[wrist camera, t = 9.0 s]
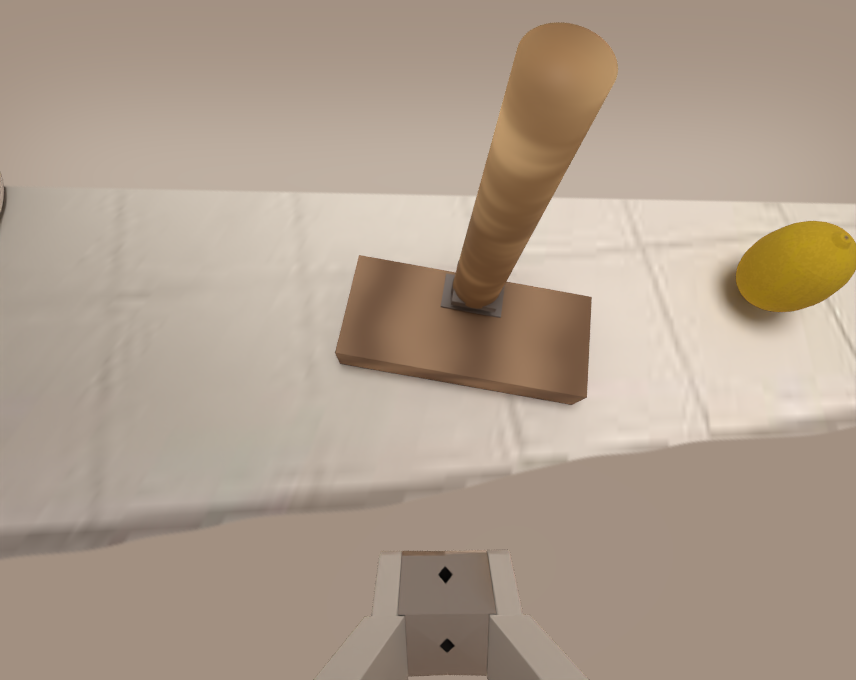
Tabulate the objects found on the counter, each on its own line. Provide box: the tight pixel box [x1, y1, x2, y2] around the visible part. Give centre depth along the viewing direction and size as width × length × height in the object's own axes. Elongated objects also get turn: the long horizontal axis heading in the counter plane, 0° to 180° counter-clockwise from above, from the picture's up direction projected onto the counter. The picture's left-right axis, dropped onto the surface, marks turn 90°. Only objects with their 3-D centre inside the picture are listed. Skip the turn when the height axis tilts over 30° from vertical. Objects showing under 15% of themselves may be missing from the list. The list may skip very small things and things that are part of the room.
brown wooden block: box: [335, 255, 592, 405], centre depth 30 cm, size 16×7×3 cm, turn 81°
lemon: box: [736, 221, 856, 312], centre depth 30 cm, size 6×6×8 cm
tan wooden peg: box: [451, 23, 618, 312], centre depth 21 cm, size 3×3×17 cm
